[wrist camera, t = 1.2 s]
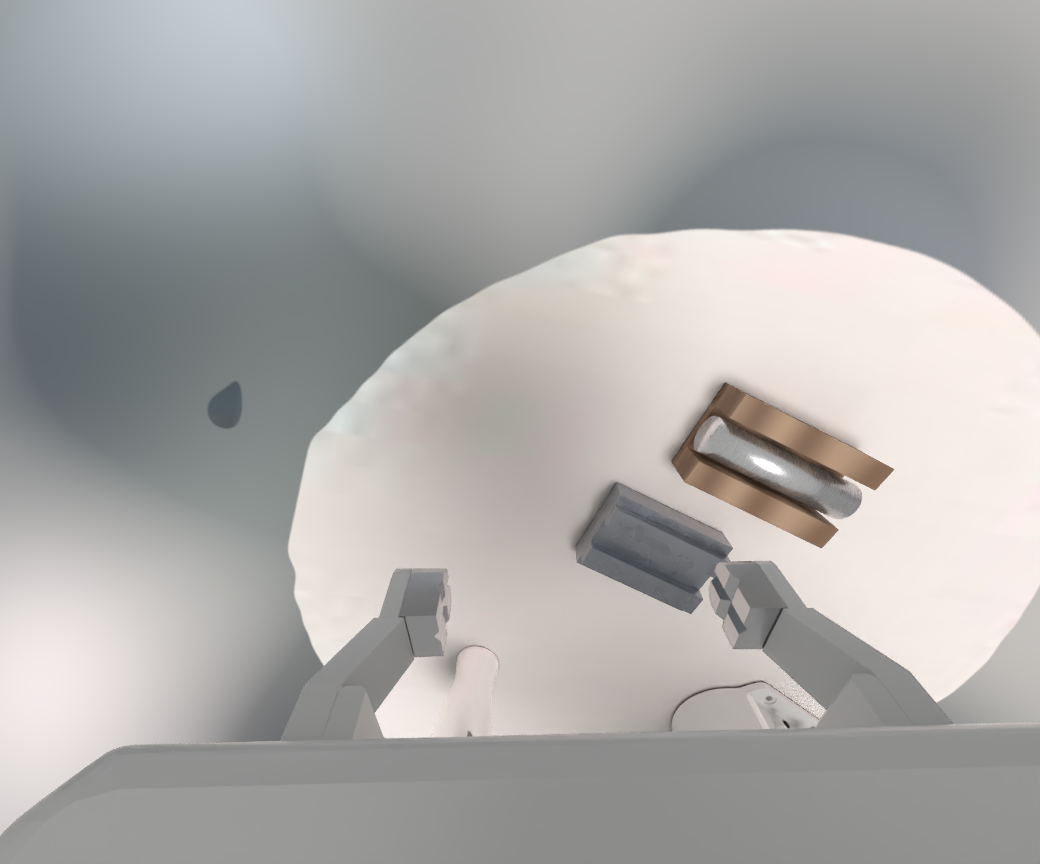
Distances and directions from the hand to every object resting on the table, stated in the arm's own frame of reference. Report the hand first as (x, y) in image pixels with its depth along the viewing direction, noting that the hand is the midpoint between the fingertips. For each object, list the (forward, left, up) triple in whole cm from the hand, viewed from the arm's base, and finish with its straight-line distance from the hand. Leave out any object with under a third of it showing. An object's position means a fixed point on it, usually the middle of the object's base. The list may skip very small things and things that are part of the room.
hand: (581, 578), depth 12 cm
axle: (-23, -1, -31) cm, 39 cm away
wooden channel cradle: (-23, -1, -32) cm, 40 cm away
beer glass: (-8, +43, -32) cm, 54 cm away
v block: (-18, +14, -32) cm, 39 cm away
